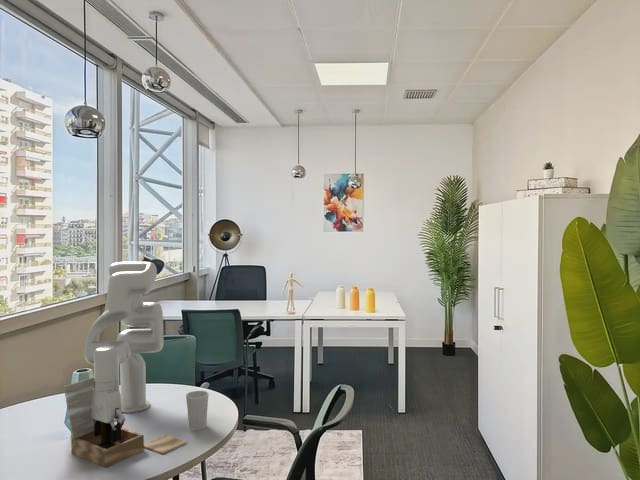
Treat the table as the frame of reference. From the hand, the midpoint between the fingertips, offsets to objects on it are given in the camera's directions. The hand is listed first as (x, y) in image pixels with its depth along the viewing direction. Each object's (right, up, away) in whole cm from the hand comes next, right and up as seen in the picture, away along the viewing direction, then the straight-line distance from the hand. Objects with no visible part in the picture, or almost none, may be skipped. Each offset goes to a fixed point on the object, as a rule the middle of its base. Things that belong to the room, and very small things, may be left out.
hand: (107, 437), depth 167 cm
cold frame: (-2, -5, +1) cm, 5 cm away
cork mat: (+17, -4, +5) cm, 18 cm away
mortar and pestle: (0, -5, 0) cm, 5 cm away
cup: (+24, -4, +20) cm, 32 cm away
